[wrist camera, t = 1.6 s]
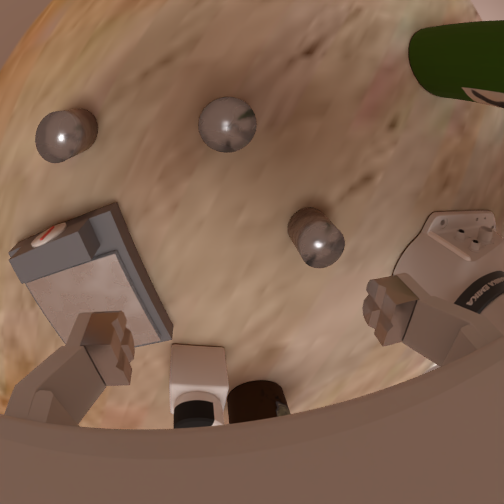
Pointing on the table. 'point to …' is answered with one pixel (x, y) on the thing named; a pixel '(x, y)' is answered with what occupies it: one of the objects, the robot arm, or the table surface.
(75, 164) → the table surface
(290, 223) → the cylinder
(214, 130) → the cylinder
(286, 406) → the olive oil
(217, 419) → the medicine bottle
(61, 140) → the cylinder
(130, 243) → the scale
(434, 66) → the wine bottle
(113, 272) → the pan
